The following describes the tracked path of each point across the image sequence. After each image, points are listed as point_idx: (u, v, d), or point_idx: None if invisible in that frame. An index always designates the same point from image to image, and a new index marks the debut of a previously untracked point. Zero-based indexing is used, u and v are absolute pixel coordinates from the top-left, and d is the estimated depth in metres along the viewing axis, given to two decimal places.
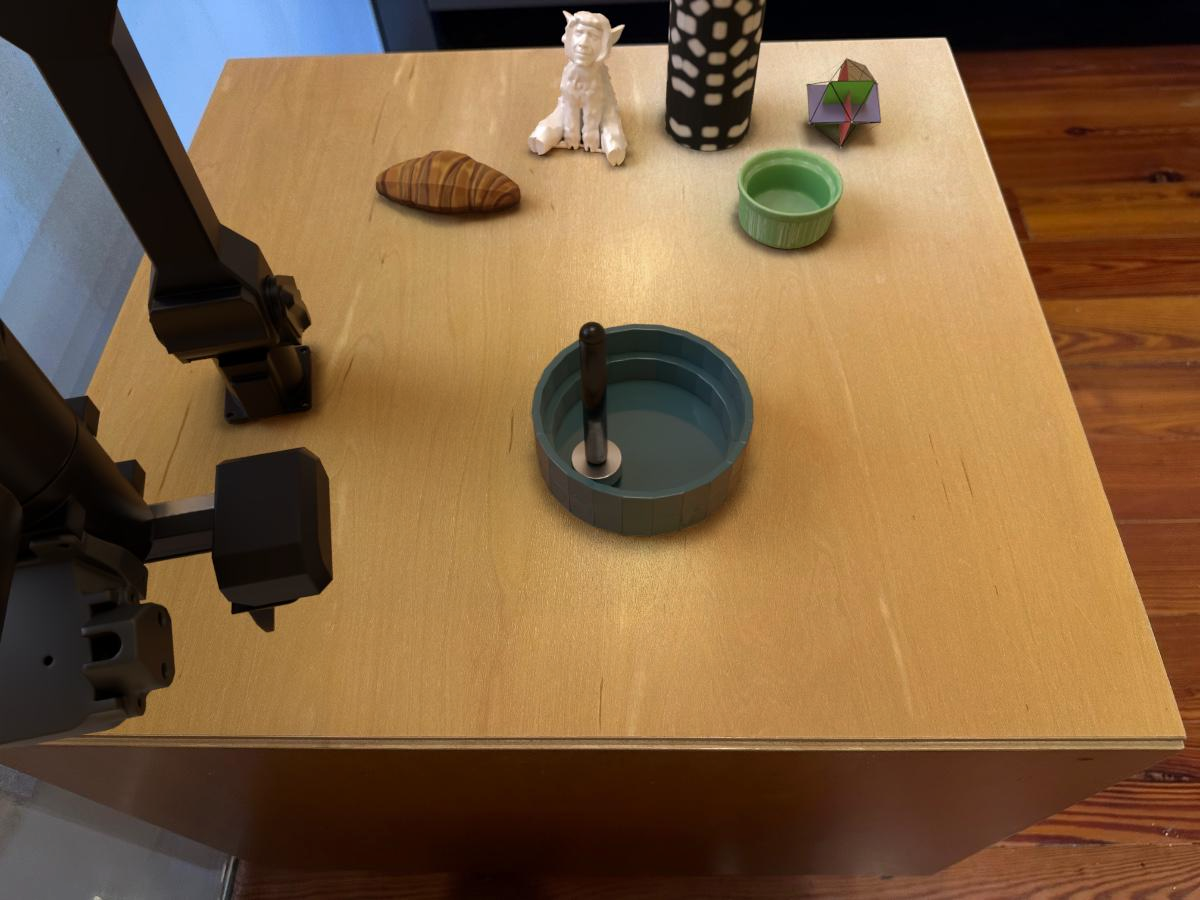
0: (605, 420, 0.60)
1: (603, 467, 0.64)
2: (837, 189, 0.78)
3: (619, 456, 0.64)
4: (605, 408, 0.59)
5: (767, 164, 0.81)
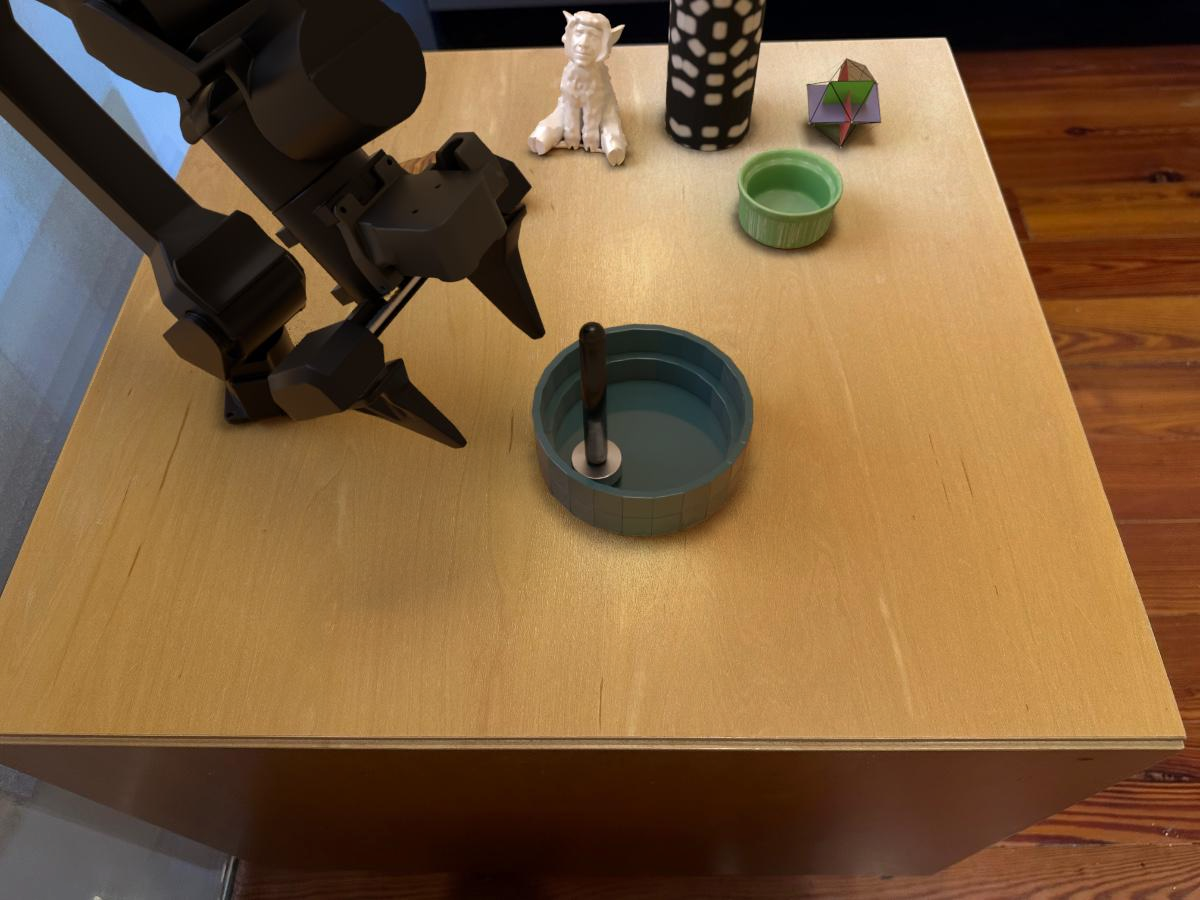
0: (605, 420, 0.60)
1: (603, 467, 0.64)
2: (837, 189, 0.78)
3: (619, 456, 0.64)
4: (605, 408, 0.59)
5: (767, 165, 0.81)
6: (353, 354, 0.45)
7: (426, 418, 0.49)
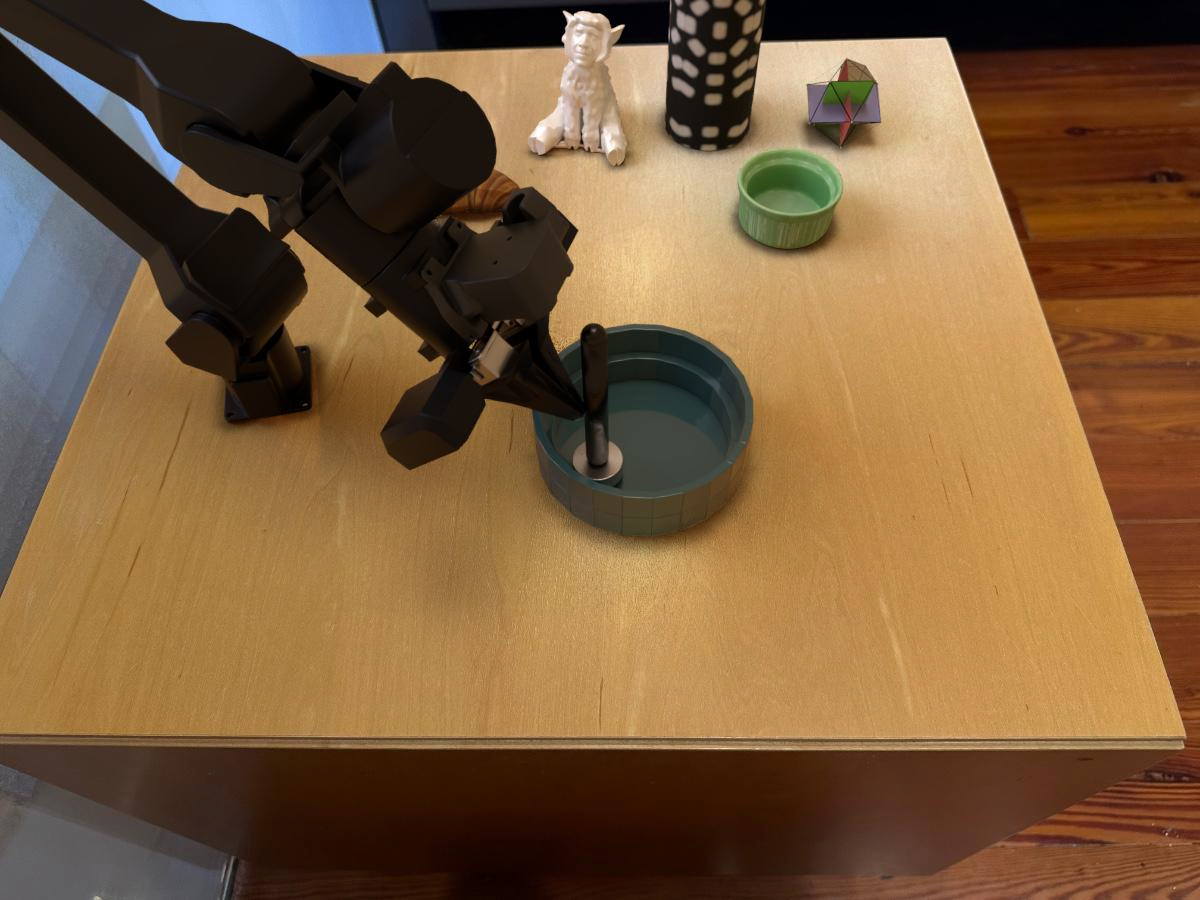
0: (606, 421, 0.60)
1: (605, 468, 0.64)
2: (837, 189, 0.78)
3: (620, 457, 0.64)
4: (606, 409, 0.59)
5: (767, 164, 0.81)
6: (458, 398, 0.49)
7: (550, 393, 0.56)
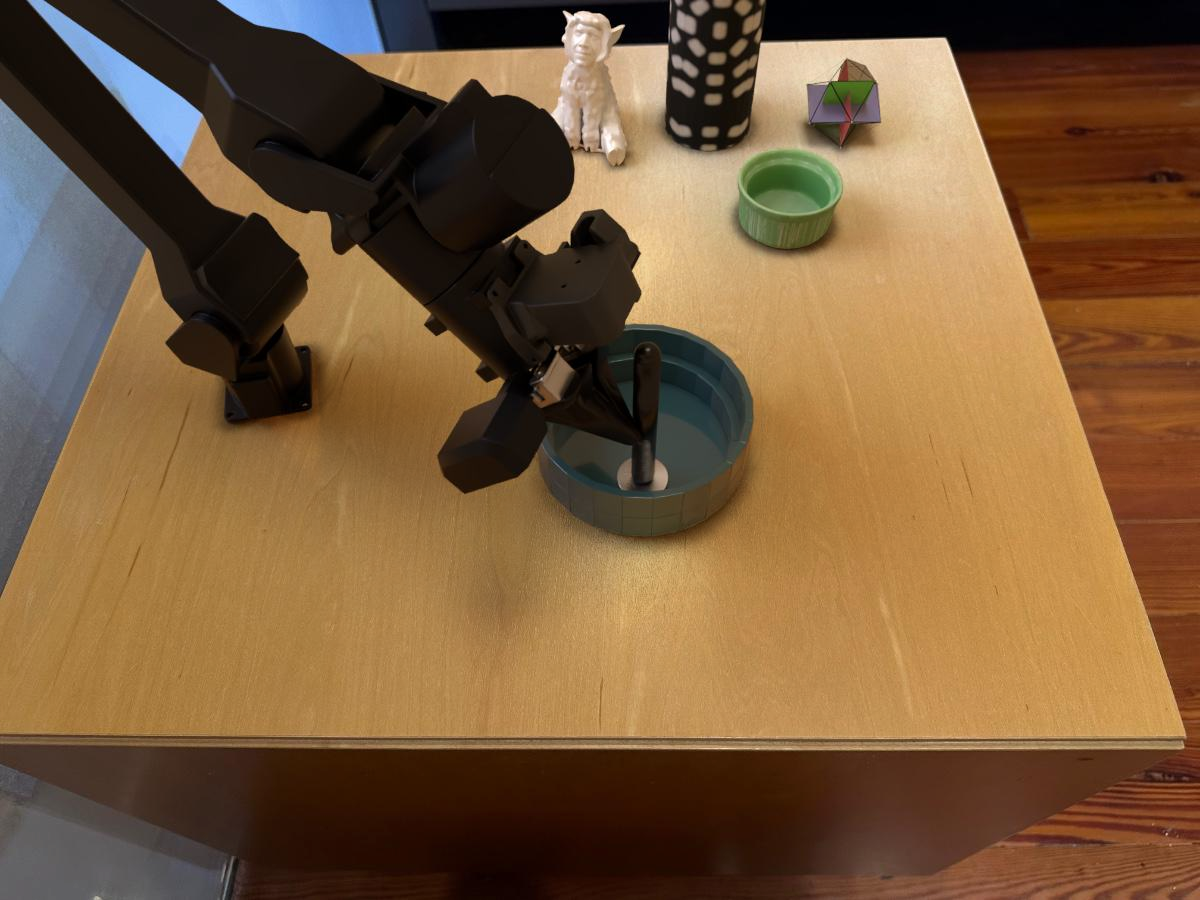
0: None
1: (657, 477, 0.63)
2: (837, 189, 0.78)
3: (655, 460, 0.64)
4: None
5: (767, 165, 0.81)
6: (521, 423, 0.48)
7: (609, 417, 0.55)
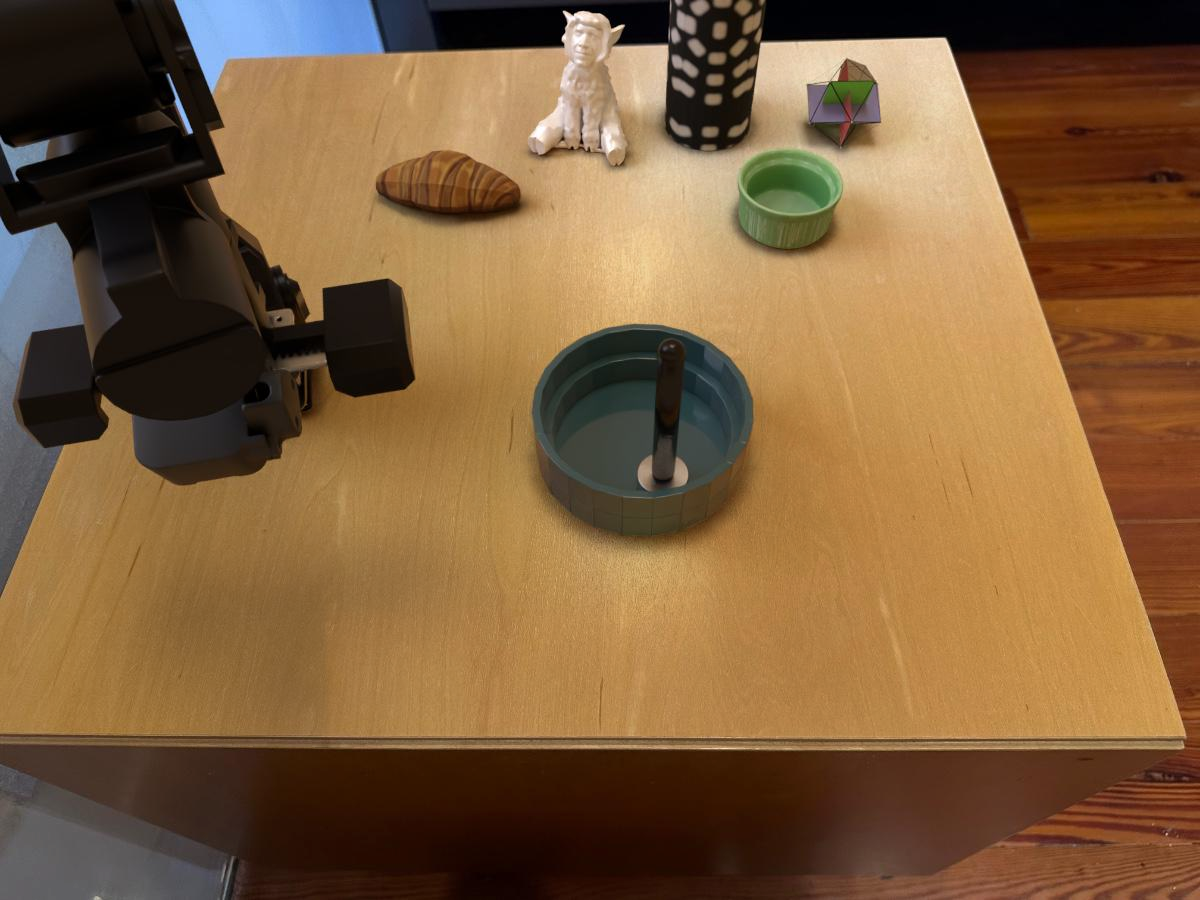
0: None
1: (676, 470, 0.63)
2: (837, 189, 0.78)
3: None
4: None
5: (767, 165, 0.81)
6: (65, 422, 0.43)
7: None
